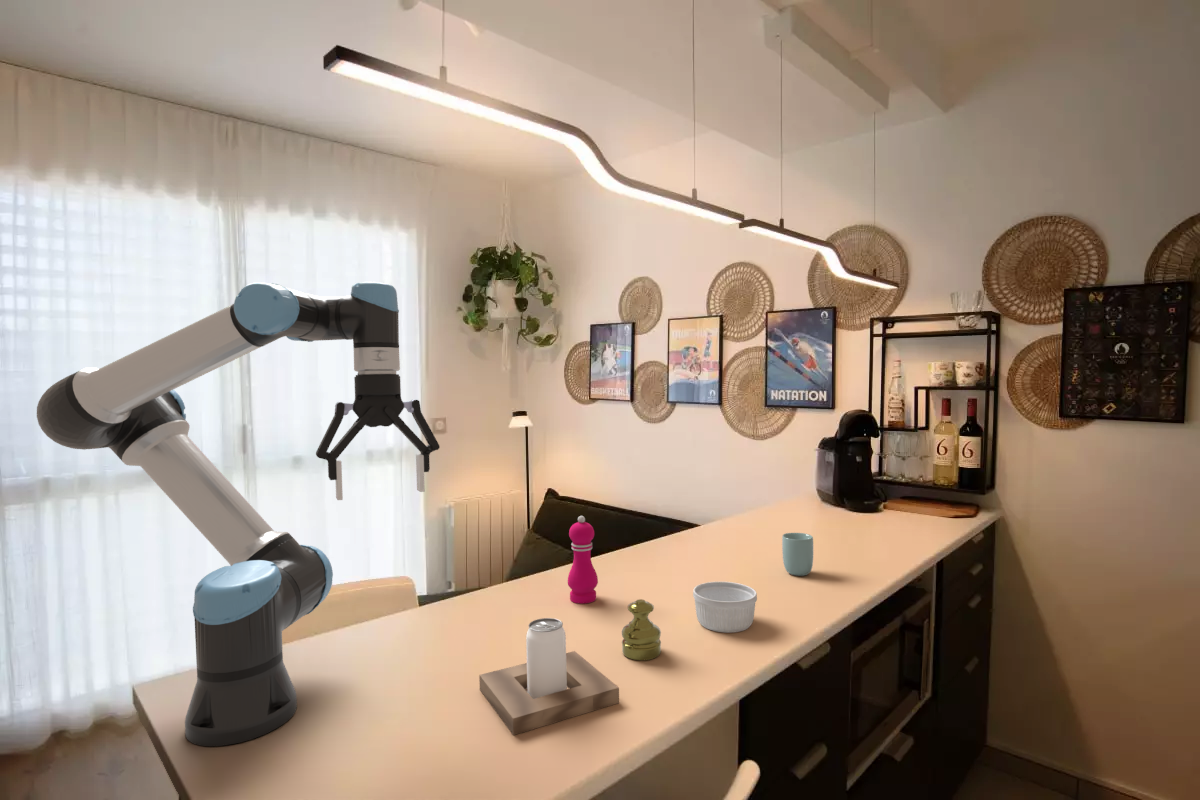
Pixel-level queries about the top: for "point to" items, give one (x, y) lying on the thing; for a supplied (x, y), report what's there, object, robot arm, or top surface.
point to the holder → (530, 713)
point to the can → (546, 657)
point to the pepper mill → (582, 563)
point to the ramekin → (725, 606)
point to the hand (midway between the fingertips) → (381, 494)
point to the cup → (797, 553)
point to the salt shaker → (641, 633)
